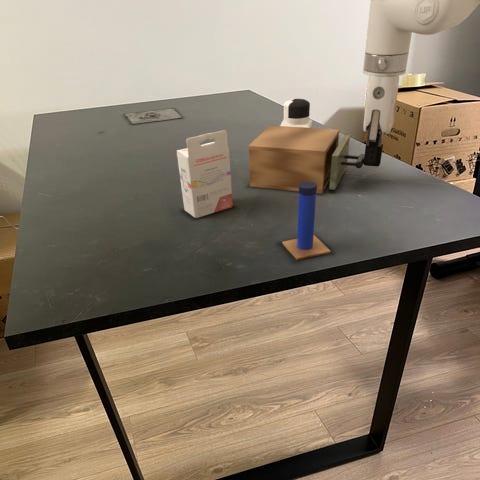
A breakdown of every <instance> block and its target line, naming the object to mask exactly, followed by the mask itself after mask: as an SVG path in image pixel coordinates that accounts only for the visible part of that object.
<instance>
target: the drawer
mask: <svg viewBox="0 0 480 480" xmlns="http://www.w3.org/2000/svg"><path fill="white" fill-rule="evenodd" d="M337 138H338V137H336V139H335V140H334V142H333V144H332V145H331V147H330V148H329V150H328V151H327V153H326V157H325V172H324V184H325V183H326V181H327V179H328V177H329V176H330V181H329V187H328V188H329V190H336V189H337V187H338V185H339V183H340V181H341V180H342V177H343V175H344V173H345V171H346V170H347V167H348V166H350V167H355V168H356V169H358V170H360V169H362V167H363V166H364V164H363V163H364V155H365V153H361V154H359V155H354V154H353V155H352V154H349V149H350V139H351V135H347V134H344V135H343V137H342V139H341V140H340V142H338V147H337ZM348 160H356V161H348Z"/></svg>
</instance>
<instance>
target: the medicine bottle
mask: <svg viewBox="0 0 480 480" xmlns="http://www.w3.org/2000/svg"><path fill="white" fill-rule="evenodd" d="M310 109H311V103H310V101H309V100H308V99H305V98H291V99H288V100H286V101H284V103H283V119H282V121H281V123H280V125H279V126H287V127H304V128H313V126H314V125H313V124H314V123H313V122H314V119H313V118H310Z"/></svg>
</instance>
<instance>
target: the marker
mask: <svg viewBox="0 0 480 480" xmlns="http://www.w3.org/2000/svg"><path fill="white" fill-rule="evenodd" d="M316 192H317V184H316V183H313V182H302V183H300V184H299V191H298V207H297V208H298V209H297V210H298V212H297V235H296V236H297V237H296V239H297V247H298V248H299V249H302V250H309V249H311V248H312V247H313V236H314V235H315V220H316V219H315V218H316V216H315V215H316V202H317V193H316Z"/></svg>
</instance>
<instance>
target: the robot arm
mask: <svg viewBox="0 0 480 480" xmlns="http://www.w3.org/2000/svg"><path fill="white" fill-rule="evenodd" d="M479 5H480V0H370V4H369V12H368V21H367V30H366V39H365V49H364V57H363V59H364V60H363V69H362V74H364V75H367V76H368V79H367V86H366V87H367V88H366V96H365V104H364V114H363V128H362V131H363V132H364V133H365V134H366V135H367V136H366V144H365V146H364V154H365V155H364V163H363V166H365V167H376V168H377V167H379V166H380V165H381V162H382V157H383V156H382V155H383V148H384V144H383V143H384V135H388V134H389V133H390V132H391V131H392V128H393V126H394V122H395V114H396V108H397V101H398V91H399V85H400V84H399V83H400V76H403V75H405V74H406V72H407V67H408V59H409V53H410V49H411V41H412V35H413V34H418V35H425V36H431V35H435V34H439V33H441V32H444V31H445V30H448V29H451V28H454V27H457V26H458V25H460V24H461V23H462V22H464V21H465V20H466V19H467V18H469V16H470V15H471V14H472V13H473V12H474V11H475V10H476V8H477V7H478V6H479Z"/></svg>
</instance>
